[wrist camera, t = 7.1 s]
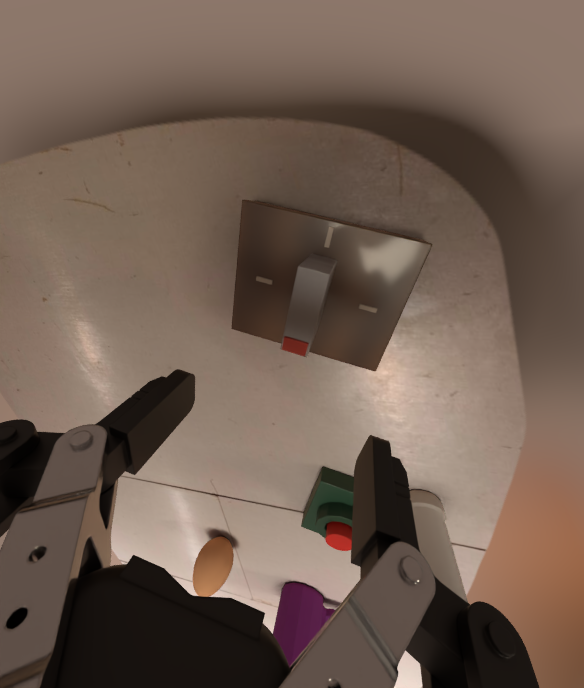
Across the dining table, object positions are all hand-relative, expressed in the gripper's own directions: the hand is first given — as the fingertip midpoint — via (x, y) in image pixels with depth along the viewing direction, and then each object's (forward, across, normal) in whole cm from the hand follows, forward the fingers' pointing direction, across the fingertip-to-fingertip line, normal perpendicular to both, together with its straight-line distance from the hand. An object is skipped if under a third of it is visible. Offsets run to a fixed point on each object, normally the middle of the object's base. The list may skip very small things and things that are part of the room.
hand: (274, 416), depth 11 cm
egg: (+15, +6, +53) cm, 56 cm away
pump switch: (+15, -10, +28) cm, 34 cm away
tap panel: (+15, +1, -2) cm, 15 cm away
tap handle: (+12, +1, -2) cm, 12 cm away
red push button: (+12, -11, +28) cm, 32 cm away
